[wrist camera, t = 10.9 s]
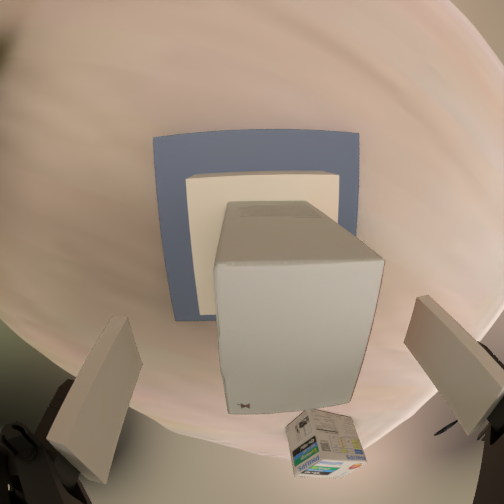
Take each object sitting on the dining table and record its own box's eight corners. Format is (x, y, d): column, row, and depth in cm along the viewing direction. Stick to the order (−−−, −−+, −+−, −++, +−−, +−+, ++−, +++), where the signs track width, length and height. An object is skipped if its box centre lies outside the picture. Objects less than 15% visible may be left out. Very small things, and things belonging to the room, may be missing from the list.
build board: (177, 314, 32) (166, 348, 26) (157, 138, 25) (134, 134, 19) (342, 305, 32) (361, 336, 26) (353, 133, 26) (382, 130, 19)
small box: (303, 290, 24) (351, 406, 12) (230, 293, 24) (225, 418, 12) (307, 197, 21) (390, 257, 9) (226, 199, 21) (207, 264, 9)
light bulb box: (284, 426, 41) (292, 477, 31) (307, 406, 39) (320, 460, 29) (329, 435, 43) (341, 479, 33) (352, 416, 41) (369, 462, 31)
